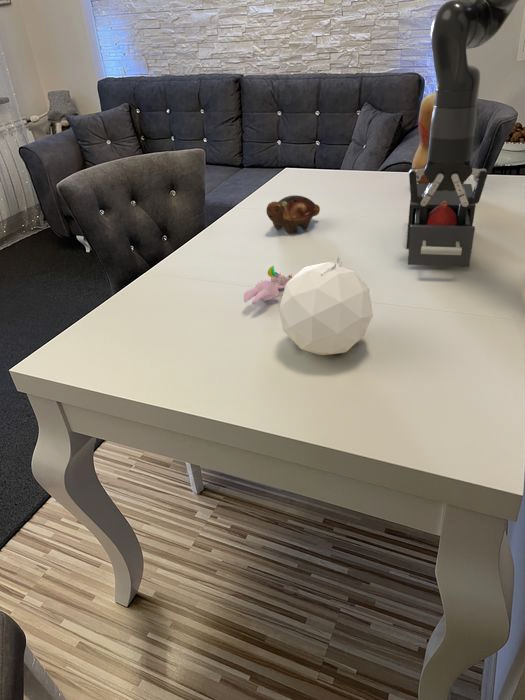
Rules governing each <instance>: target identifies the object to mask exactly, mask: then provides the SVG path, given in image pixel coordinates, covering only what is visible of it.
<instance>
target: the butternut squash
mask: <svg viewBox="0 0 525 700" xmlns="http://www.w3.org/2000/svg"><path fill="white" fill-rule="evenodd" d="M435 92H436V91H434V92H432V93H429V94H428V95H426V96H425V97H424V98H423V99H422V101H421V102H420V108H419V113H418V114H419V115H418V120H417V121H418V134H419V135H418V136H419V145H418V147H417V149H416V151H415V154H414V155H413V159H412V163H411V168H415V169H423V168H424V167H425V166H426V164H427V160H428V150H429V139H430V126H431V119H432V114H433V110H434V102H435ZM417 184H429V181H428V180H427V178H426V177H425V175H422V176H421V179H420V181H418V182H417Z"/></svg>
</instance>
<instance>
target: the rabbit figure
mask: <svg viewBox="0 0 525 700" xmlns="http://www.w3.org/2000/svg"><path fill="white" fill-rule="evenodd" d="M267 275H268V277H270V280H267V279H263V280H262V279H261V280H260V281H257V283H256V284H255V285H254V286H253V287H251V288H249V289H247V290H246V291H245V292H244V294H243V302H244V303H248V301H250V300H252V301H251V304H256V303H257V302H258V301H259V300H260V301H266V302H268V301H270V300H272V299H277V298H278V297H279V296H280V290H282V289H285V286H286V283H287V282H288V281H289V280H290V279H292V278H293V276H292V275H293V274H292V273H291V274H288V276H285V275H282V274H281V273H278V272H277V271H276V270H275V266H274V265H272V266H270V267H269V268H268V270H267Z"/></svg>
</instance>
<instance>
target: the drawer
mask: <svg viewBox="0 0 525 700" xmlns="http://www.w3.org/2000/svg"><path fill="white" fill-rule="evenodd" d="M432 210H433V209H427V217H428V215H429V213H430V212H431V211H432ZM452 210H453V211H454V212H455V214H456V216H457V218H458V210H459V209H452ZM419 212H420V208H416V214H415V225H411V230H410V242H409V249H408V254H407V255H408V256H407V265H408V266H429V267H430V266H431V267H432V266H433V267H450V268H451V267H452V268H453V267H454V268H455V267H457V268H470V265H471V258H472V252H473V251H472V250H473V244H474V237H475V230H476V226H475V225H473V226H470V221H469V215H468V209H467V214H466V220H465V222H464V223H461V226H448V225H422V222H420V221H419ZM426 220H427V219H426Z"/></svg>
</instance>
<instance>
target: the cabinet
mask: <svg viewBox="0 0 525 700" xmlns="http://www.w3.org/2000/svg"><path fill="white" fill-rule="evenodd" d="M428 185H429V184H418V183H417V192H418V195H420V196H423V194H424V192H425V191H426V188H427V186H428ZM463 187H464V190H465V193H466V195H467V197H468V196H471V195H472V193H473V190H474V189H473V186H472V183H463ZM444 201H447V203H448V204H447V206H448V207H450V208H451V209H459V204H461V202H460V199H459V197H458V194H457V191H456V190H454V191H448V190H443V191H437V190H436V191H435V192H434V194H433V196H432V197H431V198H430V200H429V202H428V208H427V209H434V208H436V207H437V206H439V205H440V204H442V203H443V202H444ZM476 205H477V204H471V205H469V206H468V208H467V209H468V215H469V221H470V226H474V219H475V212H476ZM416 208H420V205H419V204H417V203H412V202H411V197H410V199H409V209H408V222H407V232H406V233H407V235H406V246H405V247H406V249H407V250H409V242H410V230H411V225H415V214H416Z"/></svg>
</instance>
